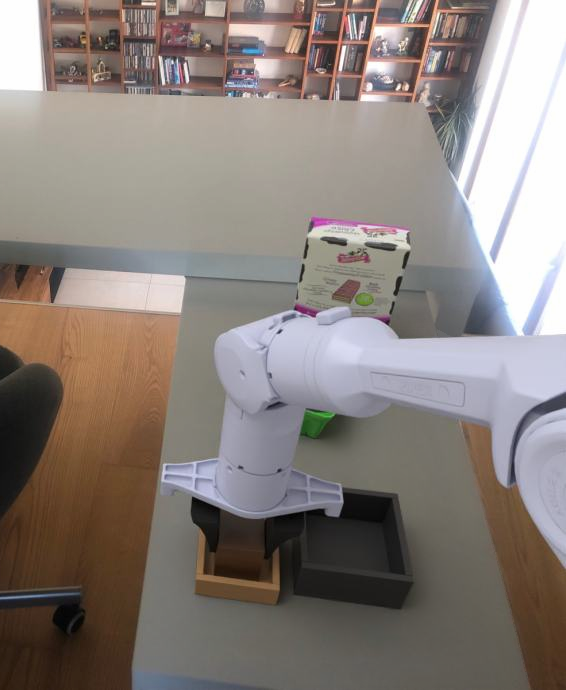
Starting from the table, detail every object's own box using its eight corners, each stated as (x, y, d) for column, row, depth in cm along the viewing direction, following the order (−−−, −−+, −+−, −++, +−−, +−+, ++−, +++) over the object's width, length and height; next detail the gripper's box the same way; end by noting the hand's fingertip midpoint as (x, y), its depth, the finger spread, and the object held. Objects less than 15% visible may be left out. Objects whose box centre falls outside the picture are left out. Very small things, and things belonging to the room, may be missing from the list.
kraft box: (275, 605, 61) (279, 590, 60) (194, 594, 62) (196, 579, 61) (274, 536, 67) (278, 520, 65) (199, 526, 68) (201, 511, 66)
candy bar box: (378, 338, 88) (412, 226, 78) (378, 363, 85) (413, 250, 74) (289, 323, 91) (310, 213, 80) (285, 347, 87) (306, 235, 77)
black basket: (400, 609, 61) (414, 582, 58) (293, 594, 62) (301, 567, 59) (386, 521, 68) (397, 493, 65) (289, 510, 69) (297, 481, 66)
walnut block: (258, 583, 62) (265, 552, 59) (213, 577, 63) (217, 546, 60) (258, 545, 65) (264, 513, 62) (215, 539, 66) (219, 508, 63)
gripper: (349, 419, 56) (318, 519, 64) (168, 400, 58) (163, 500, 66) (358, 489, 50) (324, 588, 59) (159, 466, 52) (155, 565, 61)
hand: (239, 546), depth 62 cm, fingers closed on walnut block, 4 cm apart
